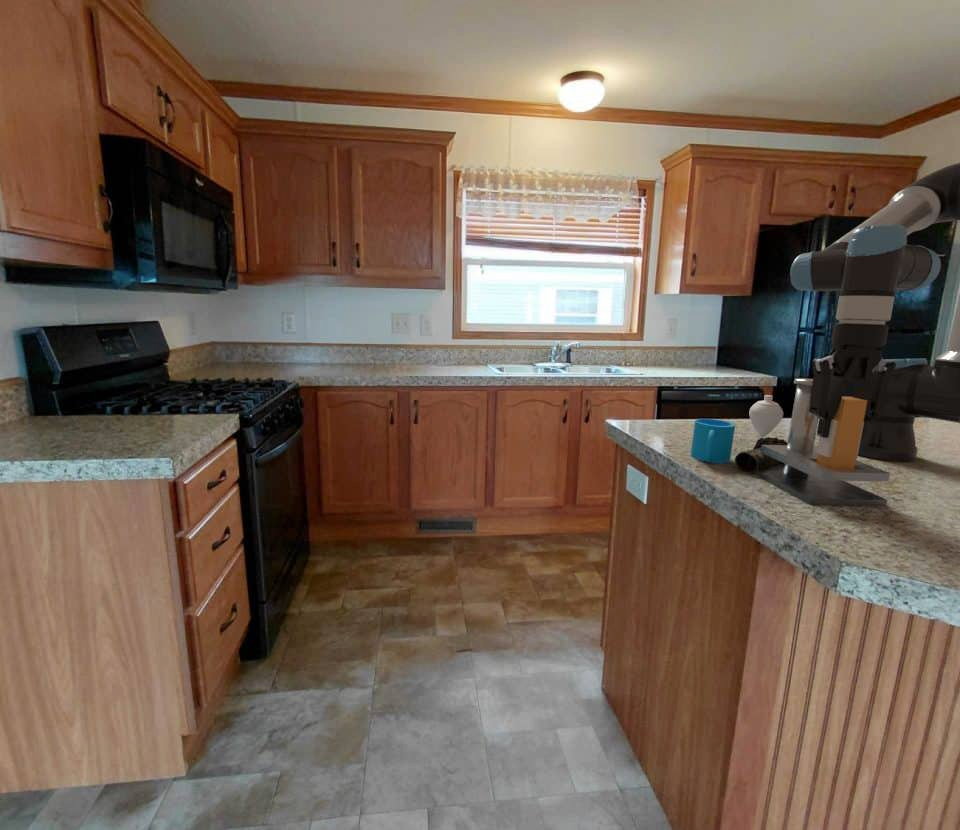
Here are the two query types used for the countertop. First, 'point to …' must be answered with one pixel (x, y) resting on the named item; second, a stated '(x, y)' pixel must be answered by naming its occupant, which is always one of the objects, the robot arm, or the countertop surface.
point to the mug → (712, 440)
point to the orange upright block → (846, 434)
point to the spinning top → (765, 415)
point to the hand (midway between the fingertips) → (836, 455)
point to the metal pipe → (757, 456)
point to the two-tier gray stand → (810, 476)
